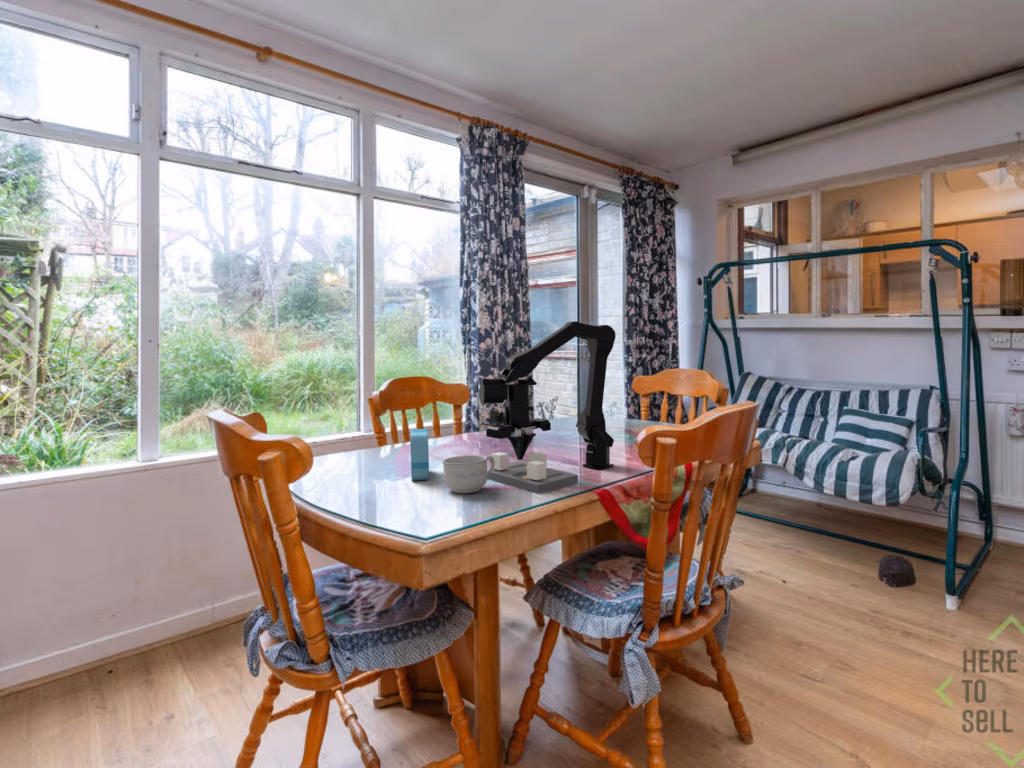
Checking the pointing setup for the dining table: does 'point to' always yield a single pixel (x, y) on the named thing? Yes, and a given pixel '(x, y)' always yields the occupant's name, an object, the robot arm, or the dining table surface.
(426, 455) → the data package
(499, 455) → the tab
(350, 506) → the dining table surface
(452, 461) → the teacup
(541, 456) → the tab middle
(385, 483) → the dining table surface
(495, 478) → the switch panel
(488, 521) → the dining table surface
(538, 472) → the tab
